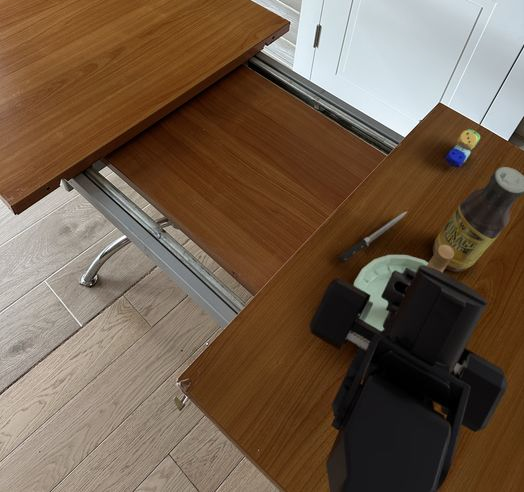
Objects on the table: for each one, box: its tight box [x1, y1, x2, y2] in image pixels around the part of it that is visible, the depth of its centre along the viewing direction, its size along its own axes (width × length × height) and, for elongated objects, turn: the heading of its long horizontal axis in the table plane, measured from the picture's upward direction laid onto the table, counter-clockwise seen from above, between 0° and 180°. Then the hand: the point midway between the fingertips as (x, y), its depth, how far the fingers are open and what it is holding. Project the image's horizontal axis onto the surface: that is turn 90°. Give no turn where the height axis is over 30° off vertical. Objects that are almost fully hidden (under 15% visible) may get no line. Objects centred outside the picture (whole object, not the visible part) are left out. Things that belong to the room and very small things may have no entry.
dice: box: [445, 128, 481, 168], centre depth 89 cm, size 8×3×6 cm, turn 140°
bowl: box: [352, 254, 429, 350], centre depth 69 cm, size 15×15×4 cm
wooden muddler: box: [427, 245, 454, 273], centre depth 64 cm, size 2×4×18 cm, turn 59°
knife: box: [338, 210, 409, 264], centre depth 78 cm, size 15×1×2 cm, turn 128°
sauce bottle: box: [432, 166, 524, 272], centre depth 71 cm, size 7×6×20 cm
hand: (406, 326), depth 60 cm, fingers open, 9 cm apart
